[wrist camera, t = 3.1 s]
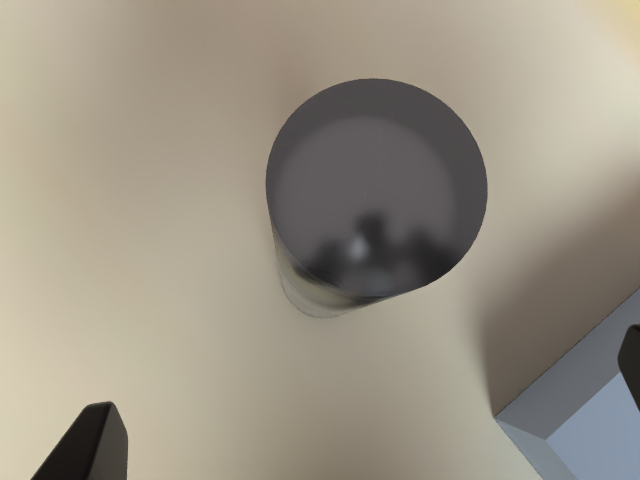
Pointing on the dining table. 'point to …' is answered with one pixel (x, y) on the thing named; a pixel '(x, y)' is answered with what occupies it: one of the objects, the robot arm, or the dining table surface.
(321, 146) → the peg
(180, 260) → the dining table surface
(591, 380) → the hole block
